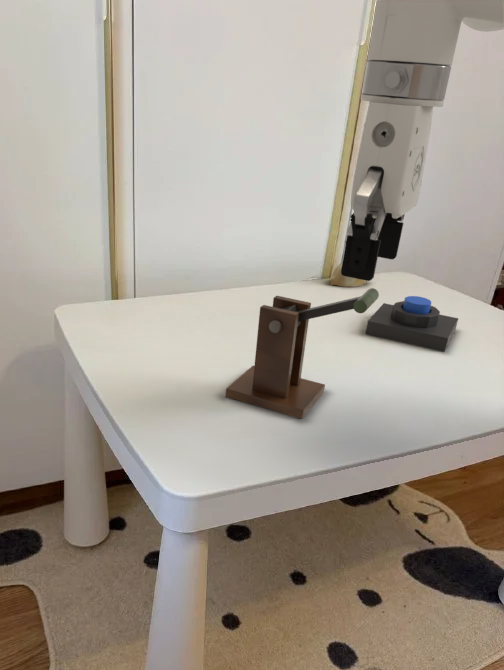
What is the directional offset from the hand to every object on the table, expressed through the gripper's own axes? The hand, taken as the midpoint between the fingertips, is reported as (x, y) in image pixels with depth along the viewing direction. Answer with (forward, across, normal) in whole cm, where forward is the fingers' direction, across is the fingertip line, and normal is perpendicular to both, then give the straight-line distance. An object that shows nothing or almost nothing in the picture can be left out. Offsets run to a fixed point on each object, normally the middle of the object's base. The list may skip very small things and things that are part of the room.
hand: (369, 266), depth 67 cm
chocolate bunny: (+18, +52, +14) cm, 56 cm away
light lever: (+7, 0, +4) cm, 8 cm away
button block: (+18, +32, -1) cm, 37 cm away
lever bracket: (+18, 0, +9) cm, 20 cm away
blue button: (+14, +32, -1) cm, 35 cm away
